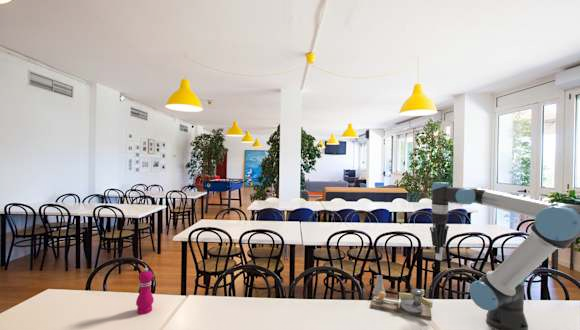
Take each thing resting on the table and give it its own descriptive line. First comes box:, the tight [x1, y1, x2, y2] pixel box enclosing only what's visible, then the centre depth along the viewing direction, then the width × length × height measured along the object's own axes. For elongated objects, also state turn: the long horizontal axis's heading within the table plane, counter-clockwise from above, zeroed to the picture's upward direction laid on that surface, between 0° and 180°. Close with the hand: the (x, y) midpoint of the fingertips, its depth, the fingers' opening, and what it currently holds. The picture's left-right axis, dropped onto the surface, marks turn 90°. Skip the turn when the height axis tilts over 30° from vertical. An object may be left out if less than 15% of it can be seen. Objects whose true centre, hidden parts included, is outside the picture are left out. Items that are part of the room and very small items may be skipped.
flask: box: [371, 274, 387, 297], centre depth 161 cm, size 7×7×10 cm
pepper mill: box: [135, 267, 154, 315], centre depth 137 cm, size 7×7×20 cm
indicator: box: [378, 291, 402, 308], centre depth 148 cm, size 11×8×5 cm
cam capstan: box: [398, 288, 433, 314], centre depth 142 cm, size 16×14×8 cm
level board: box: [370, 294, 432, 321], centre depth 146 cm, size 27×12×2 cm, turn 67°
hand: (438, 259), depth 149 cm, fingers closed
